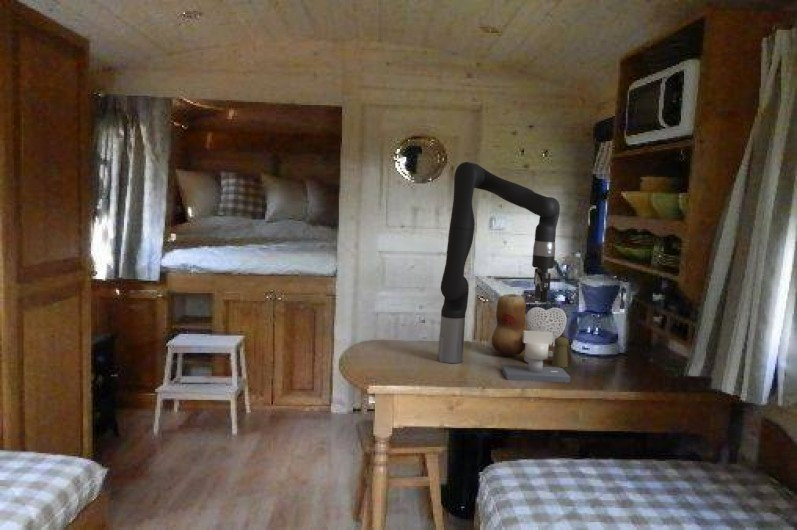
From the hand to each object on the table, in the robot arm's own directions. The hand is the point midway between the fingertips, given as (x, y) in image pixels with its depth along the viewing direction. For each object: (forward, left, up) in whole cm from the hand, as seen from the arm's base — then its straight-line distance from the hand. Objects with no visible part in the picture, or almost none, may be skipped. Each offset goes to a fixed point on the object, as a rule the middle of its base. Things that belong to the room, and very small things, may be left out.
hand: (540, 299), depth 217 cm
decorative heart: (+14, +46, -28) cm, 56 cm away
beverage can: (+3, +19, -28) cm, 34 cm away
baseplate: (0, 0, -28) cm, 28 cm away
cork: (+13, +16, -28) cm, 35 cm away
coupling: (0, 0, -21) cm, 21 cm away
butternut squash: (-5, +27, -28) cm, 39 cm away
